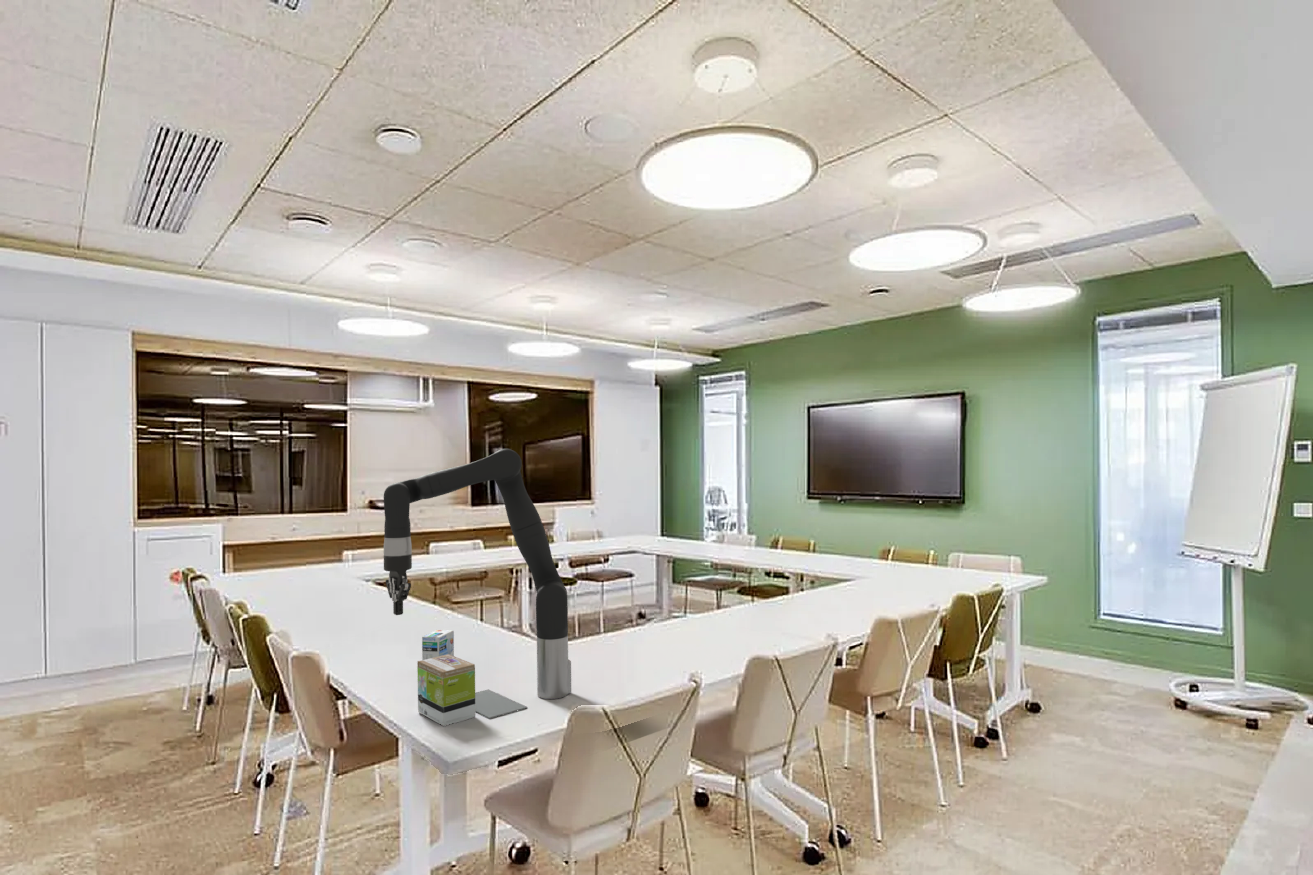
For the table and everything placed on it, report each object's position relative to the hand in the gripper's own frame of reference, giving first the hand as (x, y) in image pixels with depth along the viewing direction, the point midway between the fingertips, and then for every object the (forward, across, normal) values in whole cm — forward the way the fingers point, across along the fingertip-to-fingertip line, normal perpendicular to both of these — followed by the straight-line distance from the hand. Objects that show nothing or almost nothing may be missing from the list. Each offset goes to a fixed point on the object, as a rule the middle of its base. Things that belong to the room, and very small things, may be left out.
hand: (398, 614), depth 206 cm
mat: (+27, -14, -20) cm, 36 cm away
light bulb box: (+27, +35, -28) cm, 52 cm away
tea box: (+27, -14, -8) cm, 31 cm away
